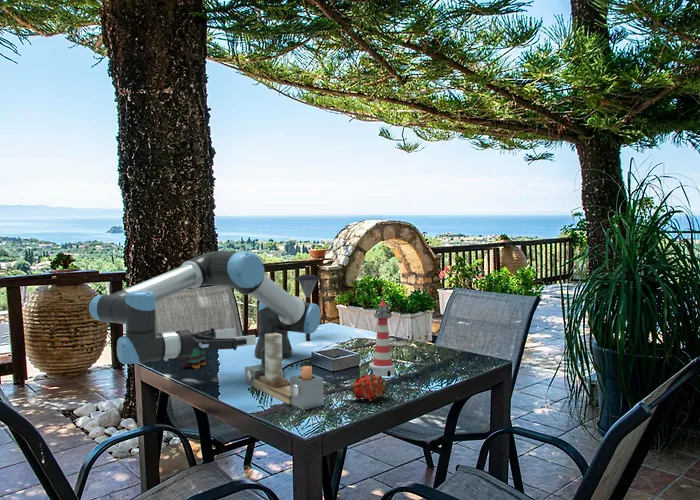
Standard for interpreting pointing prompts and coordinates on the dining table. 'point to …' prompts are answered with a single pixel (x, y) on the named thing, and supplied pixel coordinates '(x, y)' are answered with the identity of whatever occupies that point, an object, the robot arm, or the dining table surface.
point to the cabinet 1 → (254, 373)
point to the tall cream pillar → (273, 361)
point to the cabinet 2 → (306, 392)
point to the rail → (275, 391)
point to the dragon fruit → (369, 387)
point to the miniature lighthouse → (382, 344)
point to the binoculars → (194, 359)
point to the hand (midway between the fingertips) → (244, 336)
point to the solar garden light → (307, 289)
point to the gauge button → (306, 372)
